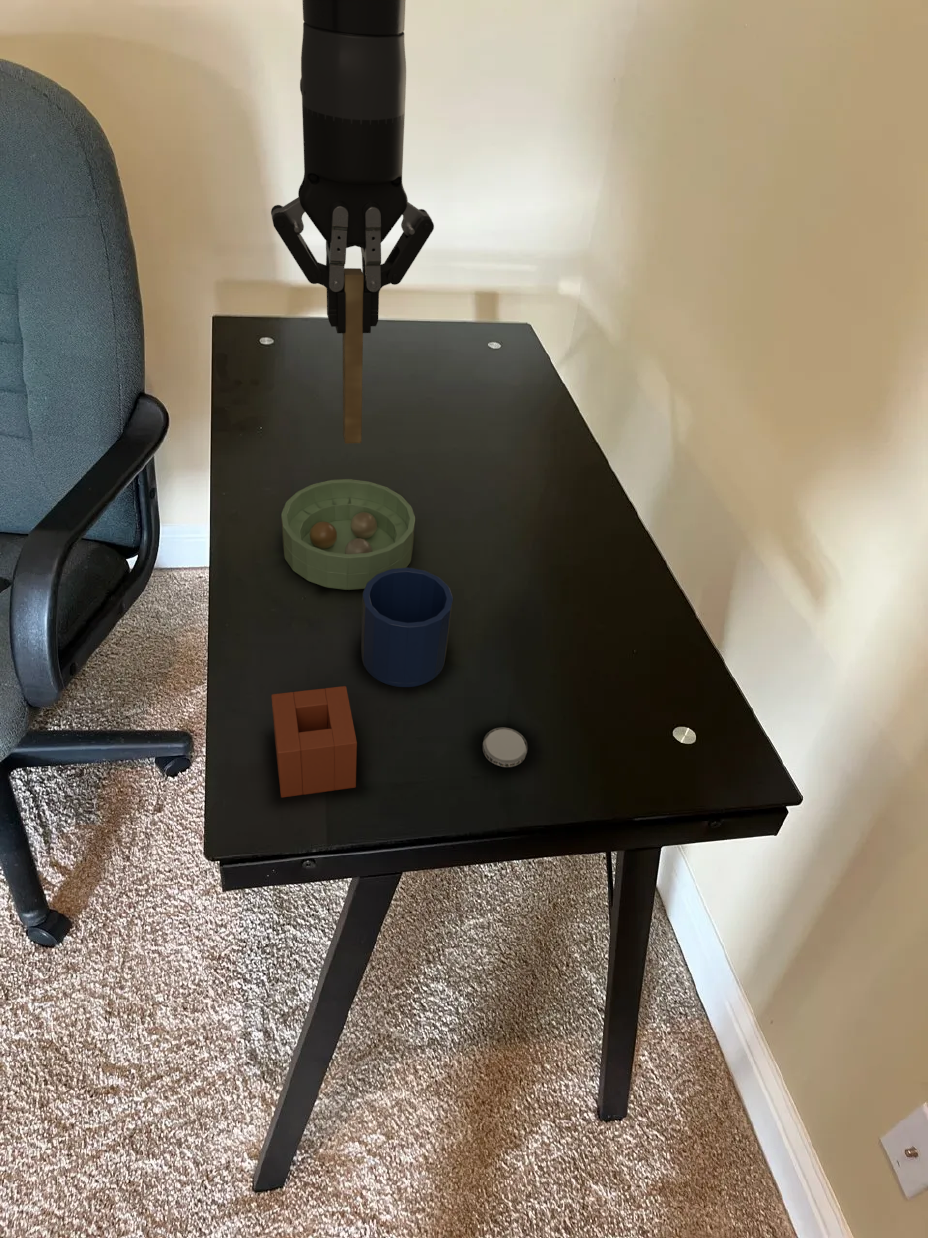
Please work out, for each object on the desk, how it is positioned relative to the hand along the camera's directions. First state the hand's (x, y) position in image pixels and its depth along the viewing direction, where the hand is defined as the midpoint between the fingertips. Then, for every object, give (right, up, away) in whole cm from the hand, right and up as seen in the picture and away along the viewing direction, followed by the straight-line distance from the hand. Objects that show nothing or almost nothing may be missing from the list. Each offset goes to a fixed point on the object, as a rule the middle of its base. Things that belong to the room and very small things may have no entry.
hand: (352, 328), depth 72 cm
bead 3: (-2, -18, +17) cm, 25 cm away
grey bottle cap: (+13, -37, +2) cm, 40 cm away
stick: (-1, -8, +7) cm, 11 cm away
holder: (-3, -38, -1) cm, 38 cm away
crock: (+4, -29, +9) cm, 31 cm away
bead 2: (-2, -15, +21) cm, 26 cm away
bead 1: (-6, -16, +19) cm, 25 cm away
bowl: (-3, -18, +20) cm, 27 cm away
